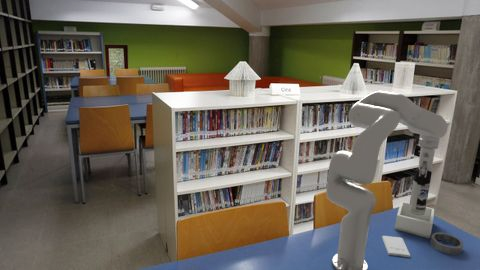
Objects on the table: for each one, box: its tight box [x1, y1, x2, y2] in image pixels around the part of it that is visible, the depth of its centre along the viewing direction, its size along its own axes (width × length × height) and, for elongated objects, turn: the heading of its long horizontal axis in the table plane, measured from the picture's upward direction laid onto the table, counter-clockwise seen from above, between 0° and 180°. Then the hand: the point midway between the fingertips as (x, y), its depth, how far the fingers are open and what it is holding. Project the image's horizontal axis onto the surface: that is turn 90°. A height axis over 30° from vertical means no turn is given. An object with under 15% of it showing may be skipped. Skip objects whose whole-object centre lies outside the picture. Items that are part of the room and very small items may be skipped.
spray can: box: [409, 167, 433, 215], centre depth 156 cm, size 7×7×20 cm
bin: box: [394, 200, 435, 240], centre depth 160 cm, size 16×14×7 cm
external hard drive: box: [381, 235, 411, 258], centre depth 144 cm, size 2×8×12 cm
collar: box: [430, 232, 464, 256], centre depth 145 cm, size 11×11×3 cm
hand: (421, 181), depth 155 cm, fingers closed on spray can, 6 cm apart
